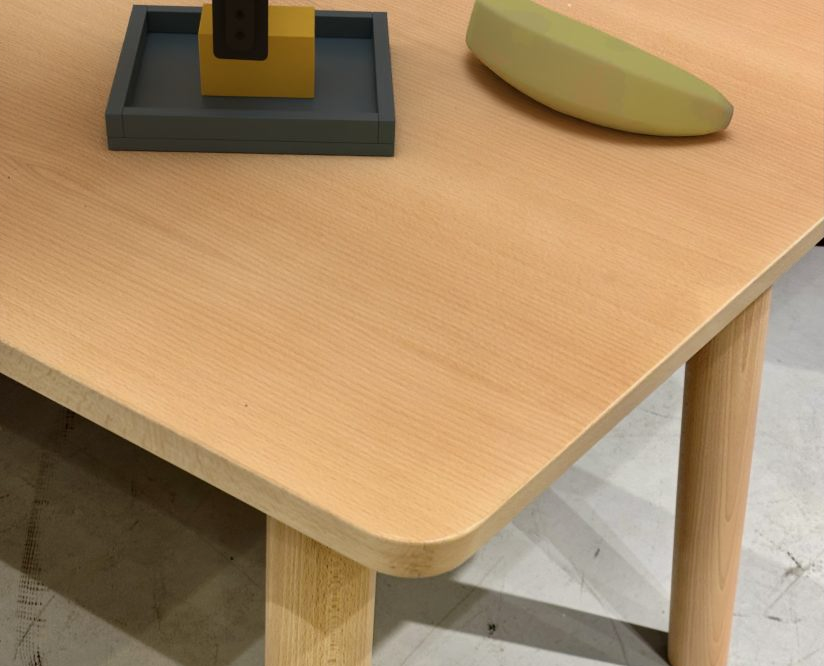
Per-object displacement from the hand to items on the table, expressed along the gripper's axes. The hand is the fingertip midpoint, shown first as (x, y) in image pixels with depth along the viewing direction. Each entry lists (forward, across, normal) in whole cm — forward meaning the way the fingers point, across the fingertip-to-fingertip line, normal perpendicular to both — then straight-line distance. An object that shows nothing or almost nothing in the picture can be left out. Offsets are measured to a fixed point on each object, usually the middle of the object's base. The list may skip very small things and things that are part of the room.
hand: (244, 24), depth 85 cm
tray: (+5, 0, +1) cm, 5 cm away
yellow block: (+4, 0, +1) cm, 4 cm away
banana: (+4, -3, +22) cm, 22 cm away
